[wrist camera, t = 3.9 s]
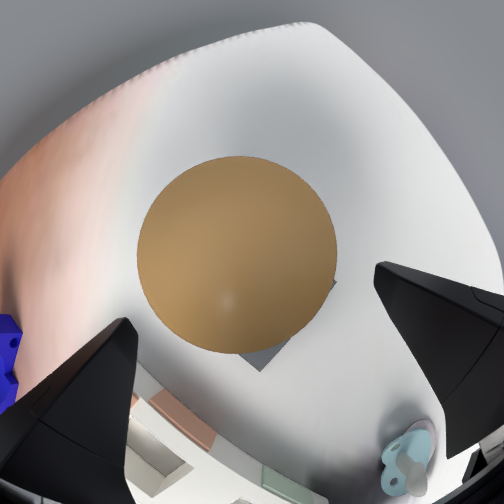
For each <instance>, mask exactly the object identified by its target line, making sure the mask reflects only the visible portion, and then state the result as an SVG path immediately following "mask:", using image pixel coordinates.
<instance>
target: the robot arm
mask: <svg viewBox="0 0 504 504" xmlns="http://www.w3.org/2000/svg"><path fill="white" fill-rule="evenodd" d="M374 287H375V290H376V291H377V293H378V295H379V297H380V299H381V301H382V303H383V305H384V307H385V309H386V311H387V313H388V315H389V317H390V319H391V320H392V322H393V323H394V325H395V327H396V328H397V330H398V331H399V333H400V334H401V336H402V338H403V339H404V341H405V342H406V344H407V346H408V347H409V349H410V351H411V352H412V354H413V356H414V357H415V359H416V361H417V362H418V364H419V366H420V367H421V369H422V371H423V373H424V374H425V376H426V378H427V380H428V381H429V383H430V385H431V387H432V389H433V391H434V392H435V394H436V396H437V398H438V400H439V402H440V404H441V406H442V408H443V410H444V413H445V420H446V457H447V459H450V458H452V457H454V456H455V455H457V454H459V453H461V452H463V451H464V450H466V449H468V448H470V447H471V446H473V445H474V444H476V443H479V446H480V448H479V449H477V450H476V451H475V452H473V453H472V455H471V458H470V461H469V463H468V466H467V469H466V471H465V474H464V476H463V479H462V483H463V485H461V486H460V487H458V488H457V489H455V490H454V491H452V492H451V493H449V494H447V495H446V496H444V497H443V498H441V499H439V500H438V501H436V502H434V503H432V504H504V296H503V295H499V294H496V293H492V292H489V291H485V290H482V289H479V288H475V287H472V286H470V287H469V286H468V285H465V284H462V283H458V282H455V281H452V280H449V279H445V278H442V277H439V276H436V275H432V274H429V273H426V272H422V271H419V270H416V269H412V268H409V267H405V266H402V265H398V264H395V263H391V262H388V261H384V262H380V263H377V264H376V267H375V274H374ZM137 351H138V333H137V331H136V330H135V328H134V327H133V325H132V324H131V322H130V321H129V319H128V318H126V317H123V318H118V319H116V320H115V321H113V322H112V323H111V324H110V325H108V326H107V327H106V328H105V329H103V330H102V331H101V332H100V333H99V334H97V335H96V336H95V337H94V338H93V339H91V340H90V341H89V342H88V343H87V344H85V345H84V346H83V347H82V348H81V349H79V350H78V351H77V352H76V353H75V354H73V355H72V356H71V357H70V358H69V359H68V360H66V361H65V362H64V363H63V364H62V365H61V366H59V367H58V368H57V369H56V370H55V371H54V372H52V374H50V375H48V376H47V377H46V378H45V379H44V380H43V381H41V382H40V383H39V384H38V385H37V386H36V387H34V388H33V389H32V390H31V391H29V392H28V393H27V394H26V395H24V396H23V397H22V398H21V399H19V400H18V401H17V402H15V403H14V404H13V405H12V406H10V407H9V408H8V409H7V410H5V411H4V412H3V413H2V414H0V504H136V502H135V500H134V498H133V496H132V494H131V491H130V489H129V487H128V484H127V482H126V479H125V473H124V467H125V454H126V442H127V432H128V423H129V415H130V407H131V400H132V393H133V387H134V381H135V375H136V366H137Z"/></svg>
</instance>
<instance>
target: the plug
mask: <svg viewBox="0 0 504 504" xmlns="http://www.w3.org/2000/svg"><path fill="white" fill-rule="evenodd" d="M336 262H337V244H336V237H335V232H334V227H333V224H332V221H331V219H330V216H329V214H328V212H327V210H326V208H325V206H324V204H323V202H322V201H321V199H320V198H319V197H318V195H317V194H316V193H315V191H314V190H313V189H312V188H311V187H310V186H309V185H308V184H307V183H306V182H305V181H304V180H303V179H301V178H300V177H299V176H298V175H296V174H295V173H293V172H292V171H290V170H289V169H287V168H285V167H283V166H280V165H278V164H276V163H273V162H270V161H267V160H264V159H259V158H254V157H243V156H236V157H224V158H218V159H214V160H210V161H207V162H204V163H202V164H199V165H197V166H194V167H192V168H191V169H189V170H187V171H185V172H184V173H182V174H181V175H179V176H178V177H177V178H175V179H174V180H173V181H172V182H171V183H170V184H169V185H167V186H166V187H165V188H164V189H163V191H162V192H161V193H160V194H159V195H158V197H157V198H156V199H155V201H154V202H153V204H152V205H151V207H150V209H149V211H148V213H147V215H146V217H145V219H144V222H143V225H142V228H141V231H140V235H139V240H138V248H137V267H138V273H139V279H140V283H141V286H142V289H143V292H144V294H145V296H146V298H147V301H148V303H149V305H150V306H151V308H152V309H153V311H154V312H155V314H156V315H157V316H158V318H159V319H160V320H161V321H162V322H163V323H164V324H165V325H166V326H167V327H168V328H169V329H170V330H171V331H172V332H173V333H175V334H176V335H178V336H179V337H181V338H182V339H184V340H185V341H187V342H189V343H191V344H193V345H195V346H197V347H200V348H203V349H206V350H209V351H213V352H219V353H225V354H243V353H252V352H257V351H261V350H265V349H268V348H270V347H273V346H275V345H278V344H280V343H282V342H284V341H285V340H287V339H289V338H291V337H292V336H294V335H295V334H296V333H298V332H299V331H300V330H301V329H303V328H304V327H305V326H306V325H307V324H308V323H309V322H310V321H311V320H312V318H313V317H314V316H315V315H316V313H317V312H318V311H319V309H320V308H321V306H322V305H323V303H324V301H325V299H326V297H327V295H328V294H329V291H330V288H331V285H332V283H333V279H334V275H335V270H336Z"/></svg>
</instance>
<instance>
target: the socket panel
mask: <svg viewBox="0 0 504 504" xmlns="http://www.w3.org/2000/svg"><path fill="white" fill-rule="evenodd" d="M132 416H133V417H134V418H135V419H136V420H137V421H138V422H139V423H140V424H141V425H142V426H143V427H144V428H145V429H147V430H148V431H149V432H150V433H151V434H152V435H153V436H154V437H156V438H157V439H158V440H159V441H160V442H161V443H163V444H164V445H165V446H166V447H167V448H169V449H170V450H171V451H172V452H174V453H175V454H176V455H177V456H179V457H180V458H181V459H183V460H184V461H185V463H184V464H182V465H181V466H180V467H178V468H177V469H176V470H175V471H173V472H172V473H171V474H169V475H168V476H166V477H165V476H163V475H162V474H161V473H160V472H158V471H157V470H156V469H154V468H153V467H152V466H151V465H149V464H148V463H147V462H146V461H145V460H143V459H142V458H141V457H140V456H139V455H138V454H136V453H135V452H134V451H133V450H132V449H131V448H130V447H129V446H128V445H126V454H125V467H124V473H125V479H126V482H127V484H128V487H129V489H130V491H131V494H132V496H133V498H134V500H136V501H137V502H138V503H140V504H232V503H233V502H235V501H236V500H238V499H239V498H243V499H244V500H246V501H248V502H250V503H252V504H329V502H328V499H327V498H325V497H323V496H321V495H319V494H317V493H314V492H312V491H311V490H309V489H307V488H305V487H303V486H301V485H300V484H298V483H296V482H294V481H292V480H290V479H288V478H287V477H285V476H283V475H281V474H280V473H278V472H276V471H274V470H273V469H271V468H269V467H268V466H266V465H264V464H262V463H260V462H259V461H257V460H256V459H254V458H252V457H251V456H249V455H248V454H246V453H245V452H243V451H242V450H241V449H239V448H238V447H236V446H235V445H233V444H232V443H231V442H229V441H228V440H226V439H225V438H224V437H222V436H221V435H220V434H218V433H217V431H215V430H214V429H213V428H211V427H210V426H209V425H208V424H206V423H205V422H204V421H202V420H201V419H200V418H199V417H198V416H196V415H195V414H194V413H193V412H192V411H190V410H189V409H188V408H187V407H186V406H185V405H183V404H182V403H181V402H180V401H179V400H178V399H177V398H175V397H174V396H173V395H172V394H171V393H170V392H169V391H168V390H167V389H166V388H164V387H163V386H162V385H161V384H160V383H159V382H158V381H157V380H155V379H154V378H153V377H152V376H151V375H150V374H149V373H148V372H147V371H146V370H145V369H144V368H143V366H142V365H141V364H140V363H139V362H138V361H137V366H136V375H135V381H134V387H133V393H132V400H131V407H130V415H129V420H130V419H131V417H132Z"/></svg>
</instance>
